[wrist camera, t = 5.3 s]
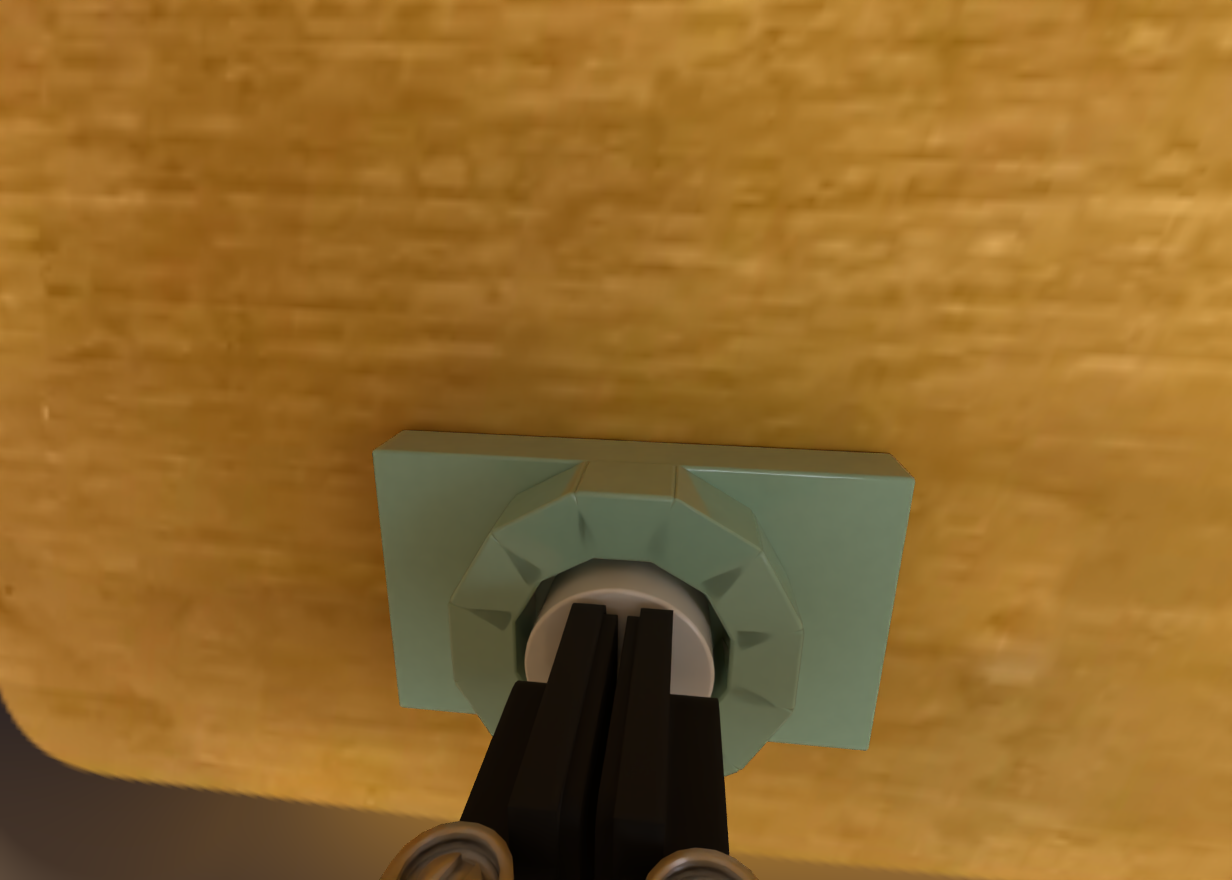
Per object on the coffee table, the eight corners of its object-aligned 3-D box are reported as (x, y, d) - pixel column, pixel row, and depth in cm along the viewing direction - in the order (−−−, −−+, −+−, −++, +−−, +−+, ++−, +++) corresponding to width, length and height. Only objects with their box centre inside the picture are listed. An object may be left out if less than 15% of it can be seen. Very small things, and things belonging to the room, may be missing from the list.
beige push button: (544, 684, 13) (525, 743, 11) (541, 539, 12) (520, 582, 10) (705, 698, 12) (709, 760, 11) (716, 551, 11) (721, 597, 10)
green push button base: (423, 669, 15) (362, 768, 12) (401, 426, 13) (323, 477, 10) (852, 706, 14) (893, 824, 11) (892, 450, 12) (954, 513, 9)
